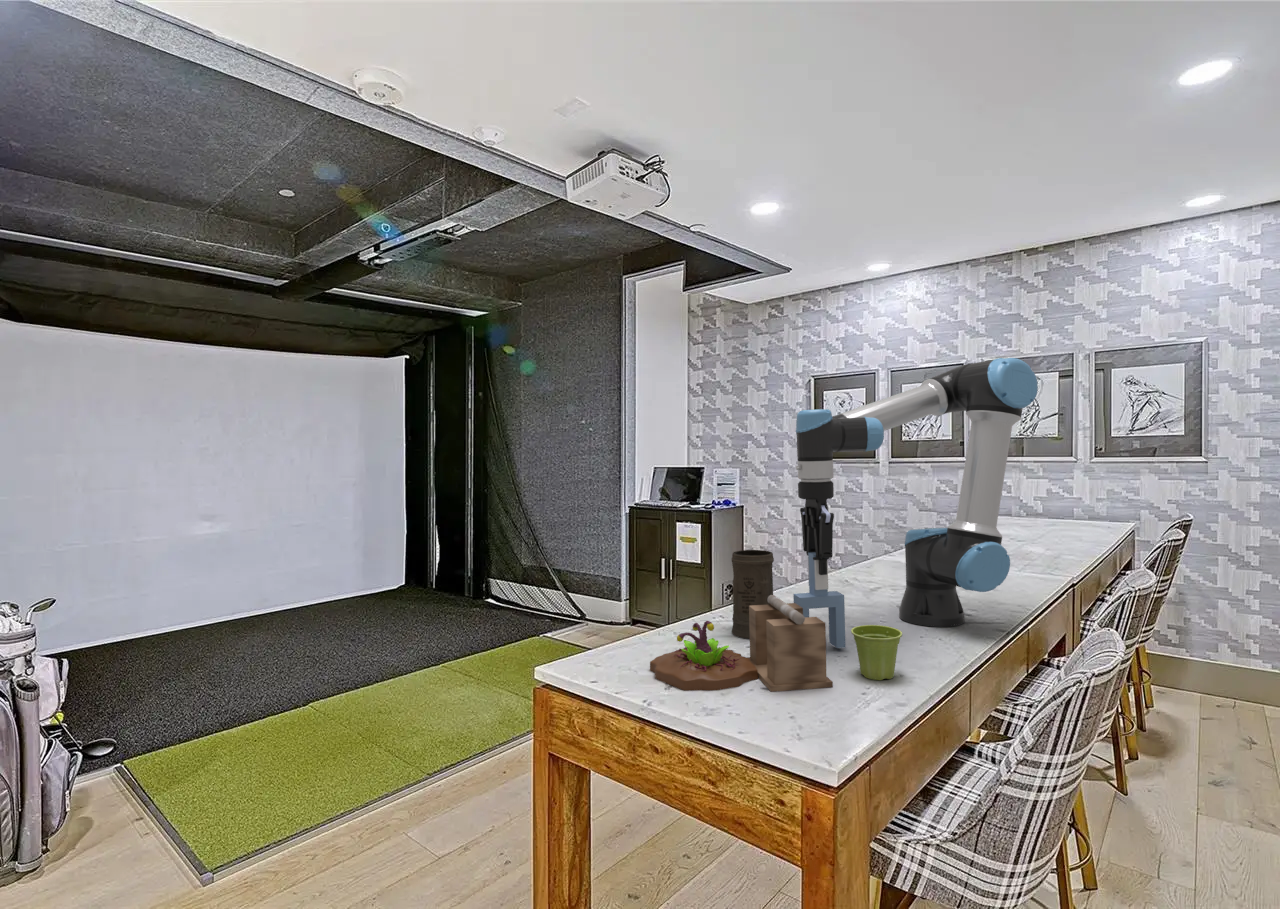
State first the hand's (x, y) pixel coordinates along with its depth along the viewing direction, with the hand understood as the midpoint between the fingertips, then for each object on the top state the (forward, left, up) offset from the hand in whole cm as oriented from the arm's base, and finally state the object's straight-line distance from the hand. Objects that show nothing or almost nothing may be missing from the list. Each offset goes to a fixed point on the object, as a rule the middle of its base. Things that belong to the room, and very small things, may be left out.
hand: (818, 587), depth 149 cm
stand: (+12, +13, -14) cm, 23 cm away
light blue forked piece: (0, 0, -13) cm, 13 cm away
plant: (+28, +9, -15) cm, 33 cm away
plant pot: (-5, +17, -14) cm, 23 cm away
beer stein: (+9, -18, -14) cm, 25 cm away
